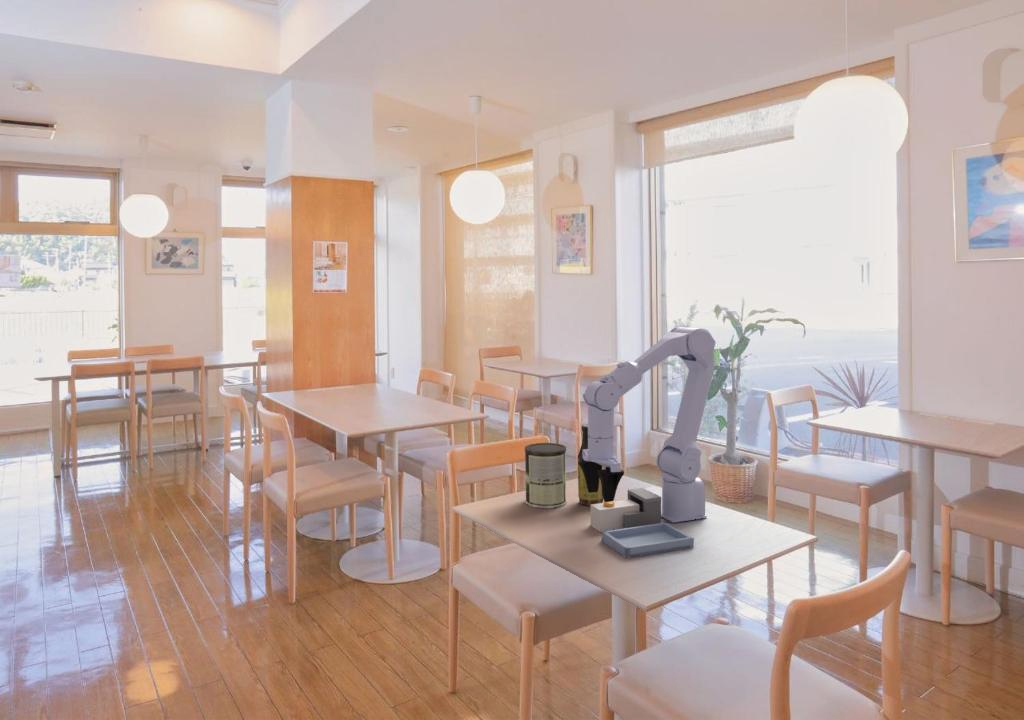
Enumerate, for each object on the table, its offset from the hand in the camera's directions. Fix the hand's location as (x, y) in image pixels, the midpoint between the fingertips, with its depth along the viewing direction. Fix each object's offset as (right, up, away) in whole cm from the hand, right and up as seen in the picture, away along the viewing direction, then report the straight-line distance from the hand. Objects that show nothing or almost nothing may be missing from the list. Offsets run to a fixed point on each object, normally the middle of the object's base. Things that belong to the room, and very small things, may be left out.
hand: (600, 496), depth 160 cm
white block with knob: (+3, -7, +2) cm, 8 cm away
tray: (+8, -8, -10) cm, 15 cm away
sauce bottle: (0, -5, +19) cm, 19 cm away
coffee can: (-11, -6, +20) cm, 24 cm away
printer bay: (+8, -7, +4) cm, 11 cm away
